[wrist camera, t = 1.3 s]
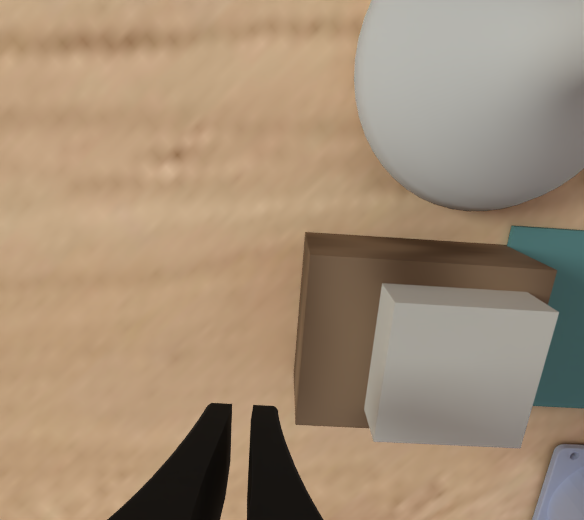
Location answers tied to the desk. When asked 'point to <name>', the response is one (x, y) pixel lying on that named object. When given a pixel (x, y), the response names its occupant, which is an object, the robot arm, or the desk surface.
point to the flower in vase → (474, 97)
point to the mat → (560, 311)
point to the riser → (365, 302)
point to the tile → (456, 365)
